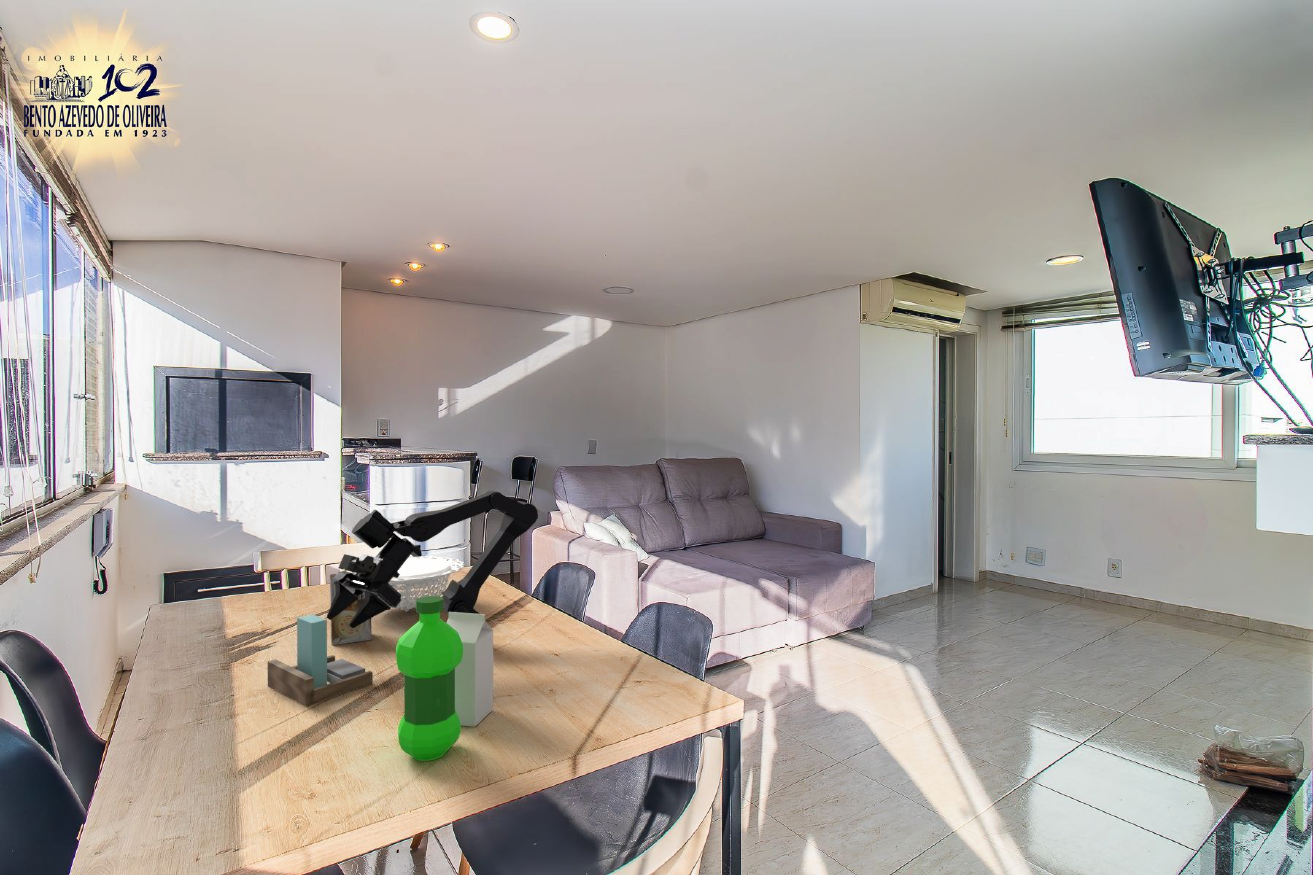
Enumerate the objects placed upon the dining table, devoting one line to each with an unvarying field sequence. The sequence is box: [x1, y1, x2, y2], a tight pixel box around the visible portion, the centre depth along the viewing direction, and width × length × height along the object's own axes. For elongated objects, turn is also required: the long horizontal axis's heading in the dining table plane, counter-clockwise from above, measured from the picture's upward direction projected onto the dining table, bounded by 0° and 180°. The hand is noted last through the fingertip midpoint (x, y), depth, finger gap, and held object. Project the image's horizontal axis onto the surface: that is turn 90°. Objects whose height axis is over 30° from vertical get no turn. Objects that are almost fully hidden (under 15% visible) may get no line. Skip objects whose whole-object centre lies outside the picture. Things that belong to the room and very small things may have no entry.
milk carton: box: [445, 612, 494, 727], centre depth 118 cm, size 7×7×19 cm
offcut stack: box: [327, 658, 366, 684], centre depth 135 cm, size 11×5×2 cm, turn 54°
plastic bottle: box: [395, 595, 463, 762], centre depth 105 cm, size 10×10×25 cm
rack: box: [267, 654, 374, 707], centre depth 132 cm, size 16×13×5 cm
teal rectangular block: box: [296, 614, 328, 689], centre depth 130 cm, size 6×3×14 cm, turn 54°
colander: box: [345, 555, 466, 613], centre depth 183 cm, size 32×32×13 cm
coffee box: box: [329, 572, 373, 646], centre depth 160 cm, size 9×6×16 cm
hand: (339, 622), depth 135 cm, fingers open, 9 cm apart
